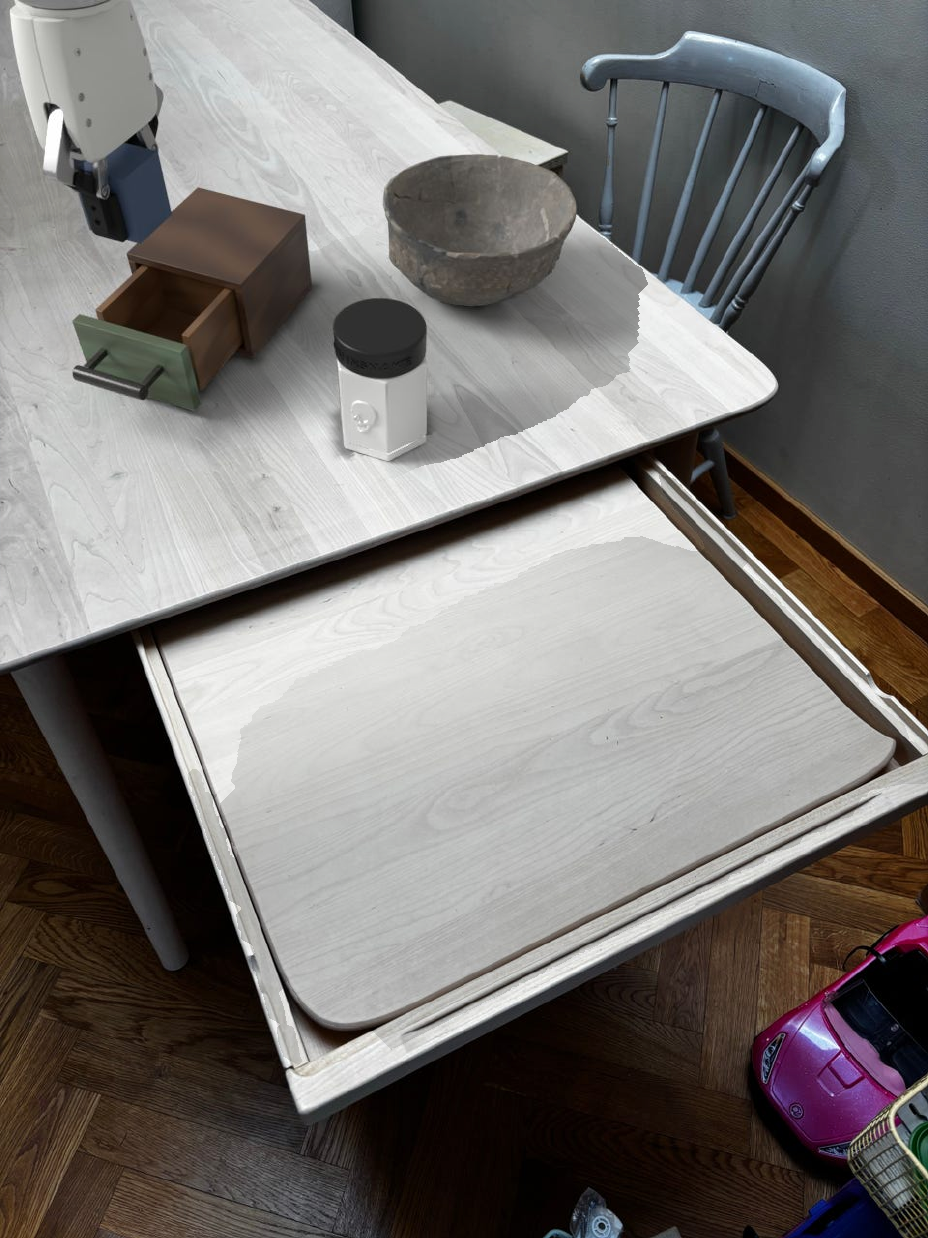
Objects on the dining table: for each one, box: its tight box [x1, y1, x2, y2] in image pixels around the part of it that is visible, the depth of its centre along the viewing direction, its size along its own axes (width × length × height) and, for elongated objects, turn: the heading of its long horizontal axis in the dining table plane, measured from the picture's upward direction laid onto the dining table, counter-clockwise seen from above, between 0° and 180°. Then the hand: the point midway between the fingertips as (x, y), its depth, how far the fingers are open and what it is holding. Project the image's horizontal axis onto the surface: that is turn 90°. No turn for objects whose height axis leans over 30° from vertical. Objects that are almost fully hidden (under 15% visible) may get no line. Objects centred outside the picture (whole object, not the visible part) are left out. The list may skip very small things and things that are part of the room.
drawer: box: [71, 265, 244, 412], centre depth 88 cm, size 17×11×7 cm
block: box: [77, 143, 173, 244], centre depth 76 cm, size 5×5×6 cm
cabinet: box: [126, 187, 313, 359], centre depth 95 cm, size 14×13×9 cm
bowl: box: [381, 153, 578, 307], centre depth 99 cm, size 21×21×10 cm
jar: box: [332, 297, 429, 462], centre depth 83 cm, size 9×8×12 cm
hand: (129, 217), depth 78 cm, fingers closed on block, 5 cm apart
